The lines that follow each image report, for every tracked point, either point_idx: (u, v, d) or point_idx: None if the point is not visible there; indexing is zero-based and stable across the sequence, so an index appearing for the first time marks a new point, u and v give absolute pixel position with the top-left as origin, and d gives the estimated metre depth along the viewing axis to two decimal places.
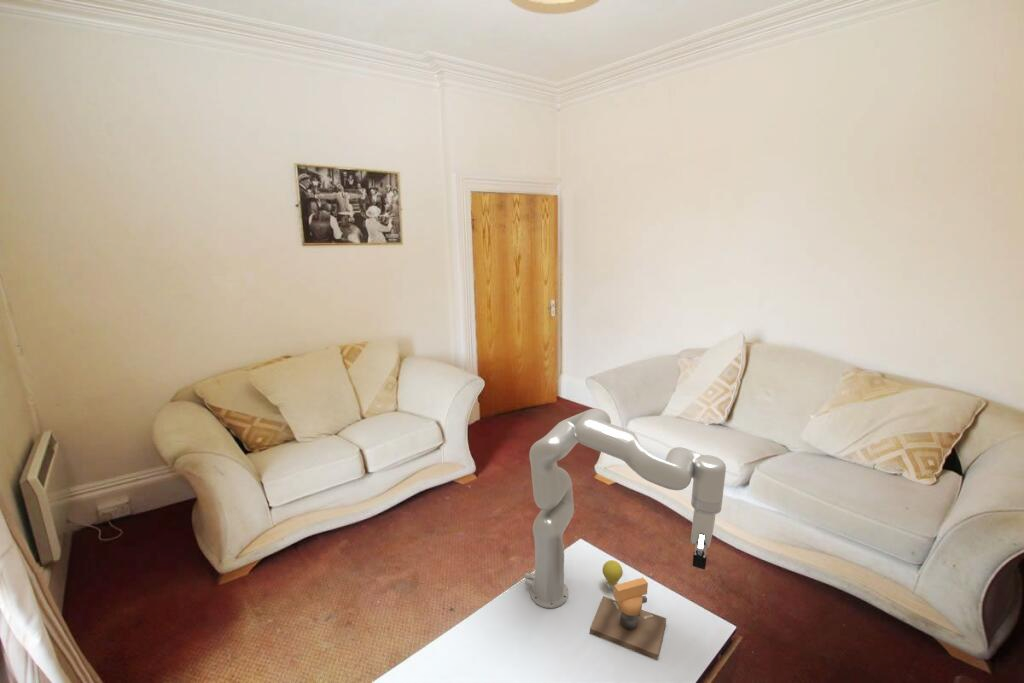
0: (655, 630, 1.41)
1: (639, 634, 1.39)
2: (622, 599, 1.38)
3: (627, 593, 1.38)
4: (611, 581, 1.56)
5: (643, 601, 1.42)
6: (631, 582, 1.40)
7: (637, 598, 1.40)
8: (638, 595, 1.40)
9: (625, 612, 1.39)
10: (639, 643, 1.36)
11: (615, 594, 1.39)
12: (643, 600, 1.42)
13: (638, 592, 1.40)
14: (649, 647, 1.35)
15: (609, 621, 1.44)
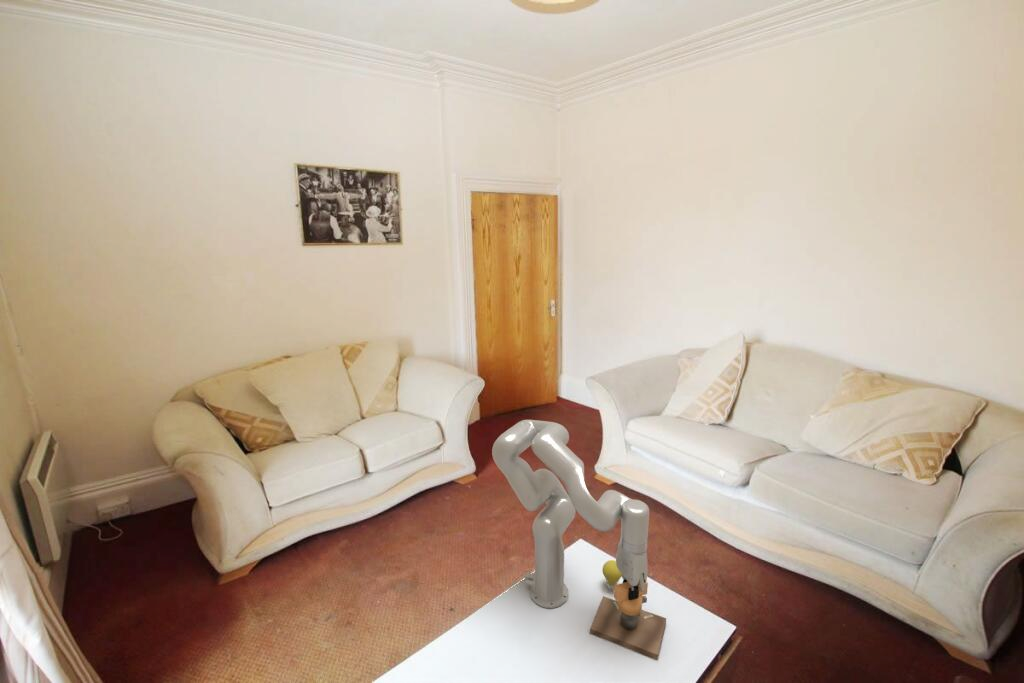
0: (655, 630, 1.41)
1: (639, 634, 1.39)
2: (622, 599, 1.38)
3: (627, 593, 1.38)
4: (611, 581, 1.56)
5: (643, 601, 1.42)
6: None
7: (637, 598, 1.40)
8: None
9: (625, 612, 1.39)
10: (639, 643, 1.36)
11: (615, 594, 1.39)
12: (643, 600, 1.42)
13: None
14: (649, 647, 1.35)
15: (609, 621, 1.44)
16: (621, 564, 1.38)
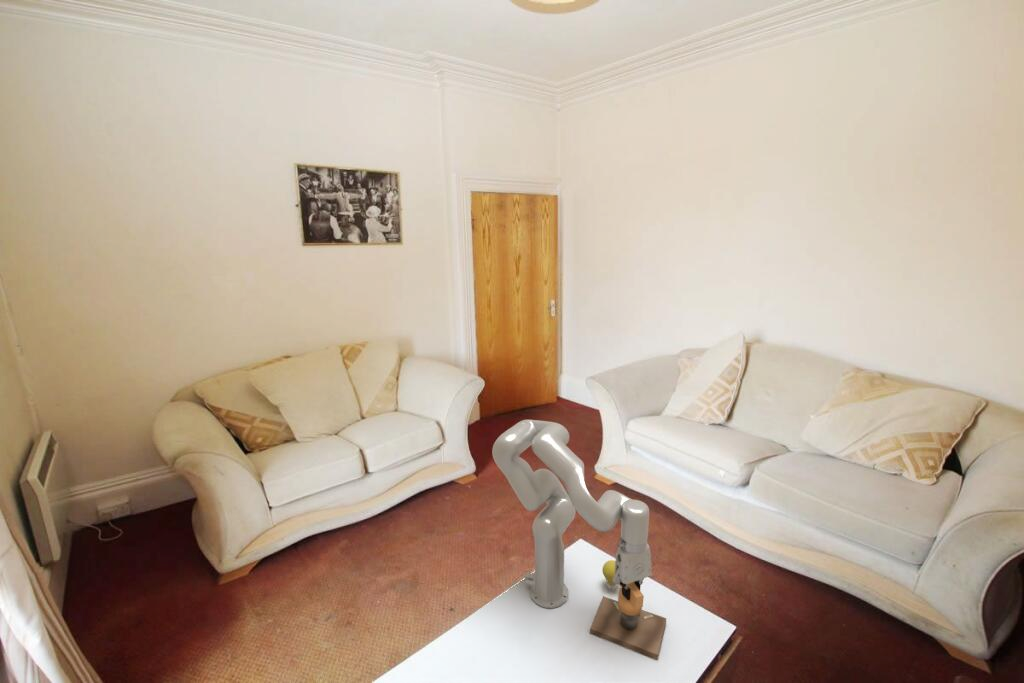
0: (655, 630, 1.41)
1: (639, 634, 1.39)
2: None
3: None
4: (611, 581, 1.56)
5: None
6: None
7: None
8: None
9: (640, 610, 1.40)
10: (639, 643, 1.36)
11: (638, 603, 1.36)
12: None
13: None
14: (649, 647, 1.35)
15: (609, 621, 1.44)
16: (634, 573, 1.35)
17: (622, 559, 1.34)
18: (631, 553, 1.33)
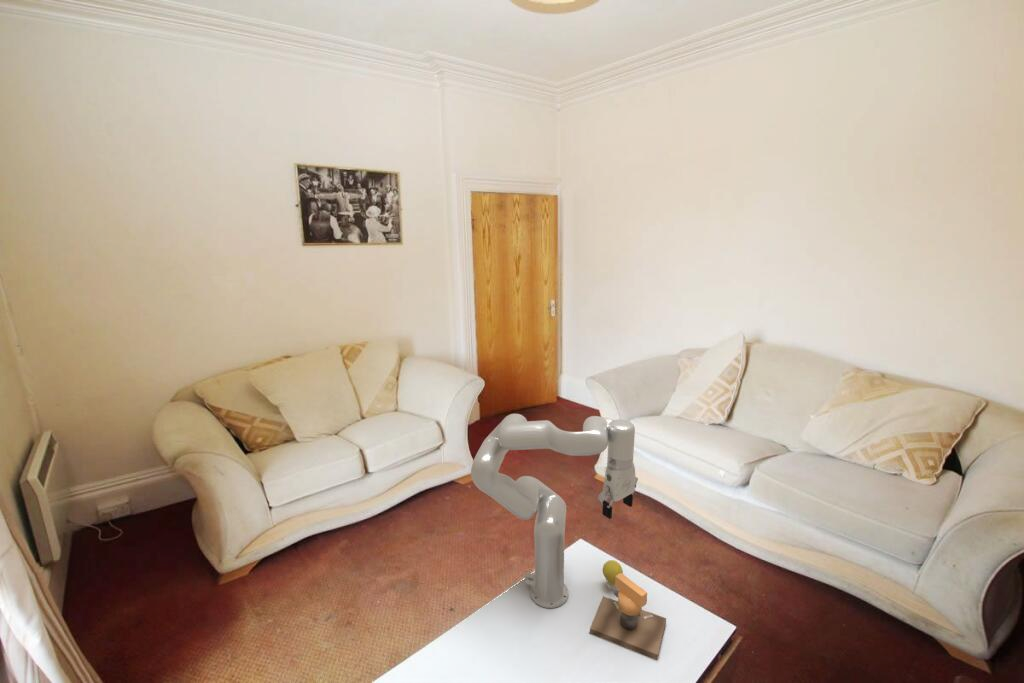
0: (655, 630, 1.41)
1: (639, 634, 1.39)
2: None
3: None
4: (611, 581, 1.56)
5: None
6: (628, 583, 1.40)
7: None
8: None
9: (641, 607, 1.41)
10: (639, 643, 1.36)
11: (643, 601, 1.36)
12: None
13: None
14: (649, 647, 1.35)
15: (609, 621, 1.44)
16: (623, 490, 1.40)
17: (613, 477, 1.38)
18: (621, 470, 1.37)
